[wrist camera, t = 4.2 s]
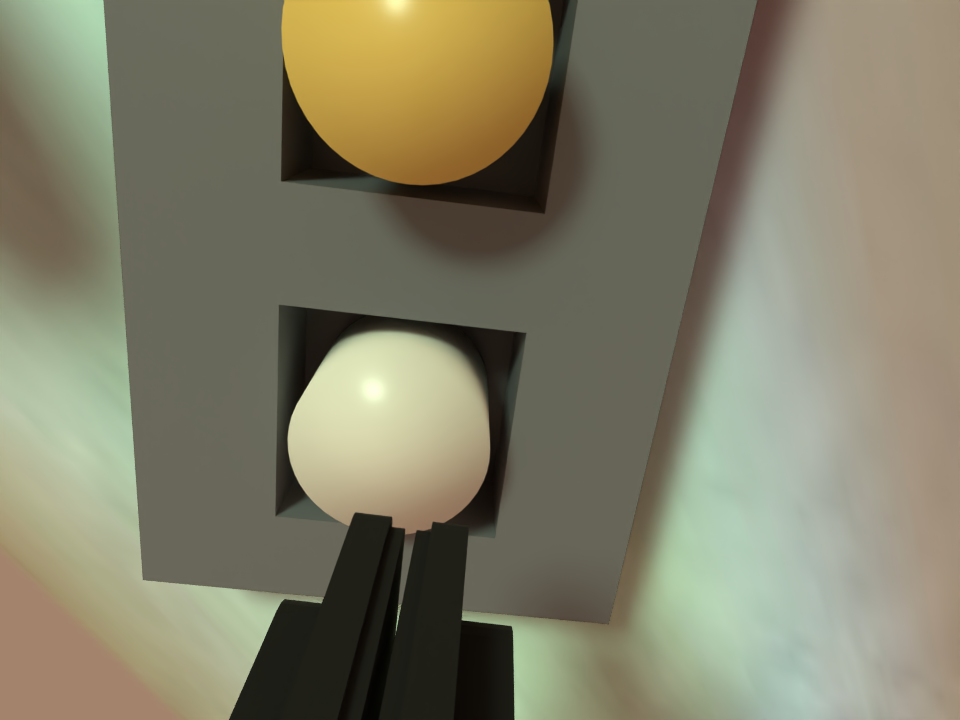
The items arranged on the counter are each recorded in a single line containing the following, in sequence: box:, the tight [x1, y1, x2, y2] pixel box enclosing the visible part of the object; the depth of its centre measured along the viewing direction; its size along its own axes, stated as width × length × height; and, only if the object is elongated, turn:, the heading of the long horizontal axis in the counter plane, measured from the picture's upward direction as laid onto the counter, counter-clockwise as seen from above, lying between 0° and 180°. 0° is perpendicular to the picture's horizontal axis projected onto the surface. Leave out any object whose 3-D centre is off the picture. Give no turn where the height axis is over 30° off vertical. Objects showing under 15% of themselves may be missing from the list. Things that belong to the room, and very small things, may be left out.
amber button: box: [281, 0, 553, 185], centre depth 13 cm, size 4×4×3 cm
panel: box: [104, 0, 757, 624], centre depth 14 cm, size 12×26×3 cm, turn 173°
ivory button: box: [288, 315, 490, 534], centre depth 16 cm, size 4×4×3 cm
